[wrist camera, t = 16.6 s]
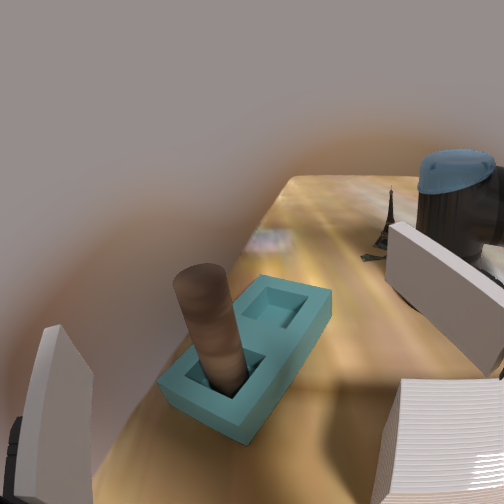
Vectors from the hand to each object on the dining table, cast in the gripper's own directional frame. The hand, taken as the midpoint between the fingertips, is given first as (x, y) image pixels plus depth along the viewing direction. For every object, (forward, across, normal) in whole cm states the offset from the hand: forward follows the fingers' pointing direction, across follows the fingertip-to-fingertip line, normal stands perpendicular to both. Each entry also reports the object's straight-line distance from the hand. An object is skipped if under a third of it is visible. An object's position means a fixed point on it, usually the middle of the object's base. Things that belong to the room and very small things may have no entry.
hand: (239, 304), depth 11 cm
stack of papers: (-11, +22, -27) cm, 36 cm away
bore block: (+20, +3, -26) cm, 33 cm away
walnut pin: (+16, -1, -25) cm, 29 cm away
